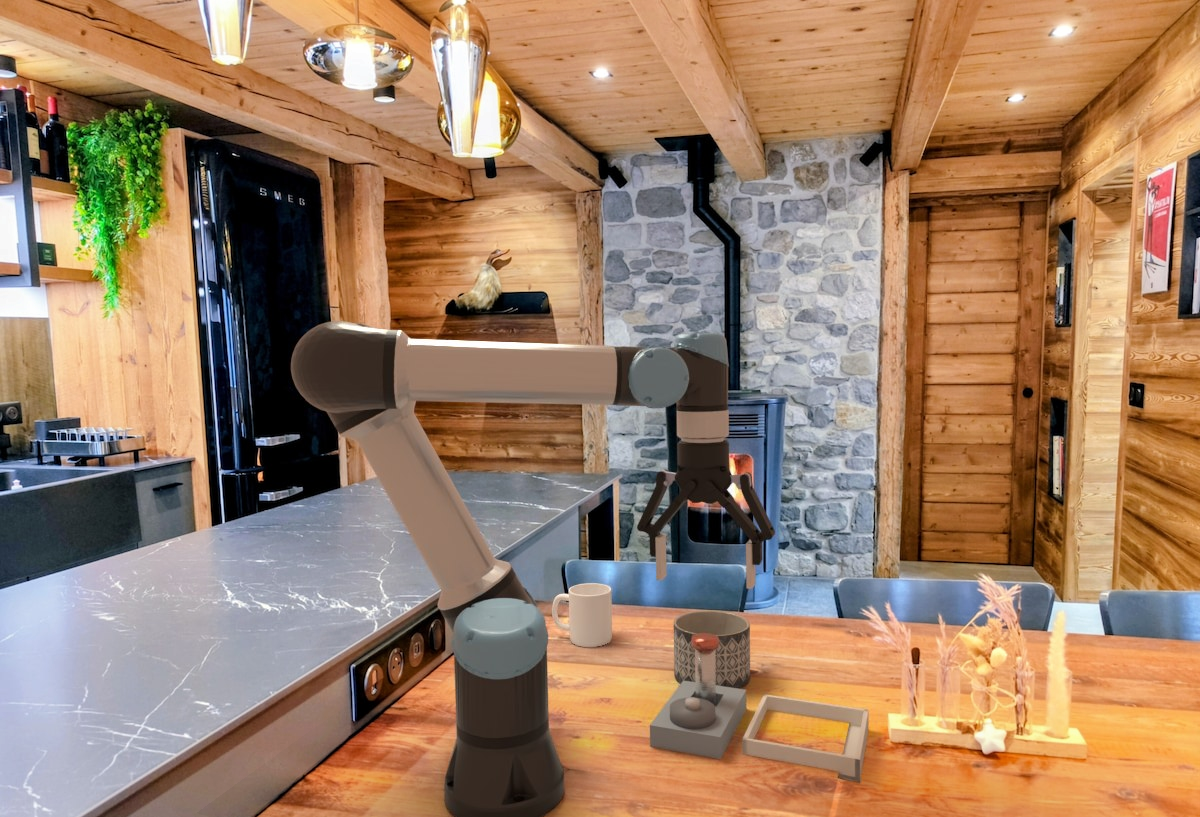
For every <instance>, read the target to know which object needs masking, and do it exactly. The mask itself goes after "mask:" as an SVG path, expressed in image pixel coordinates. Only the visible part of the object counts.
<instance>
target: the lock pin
mask: <svg viewBox="0 0 1200 817" xmlns="http://www.w3.org/2000/svg"><path fill="white" fill-rule="evenodd" d="M692 647H693V648H694V649H695V686H696V698H701V699H705V700H707V701H710V702H711V703H713V704H714V706H716V658H715V649H717V648H718V647H719V638H718V636H716V635H714V634H709V633H699V634H695V635H693V636H692Z"/></svg>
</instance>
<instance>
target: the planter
mask: <svg viewBox="0 0 1200 817" xmlns="http://www.w3.org/2000/svg"><path fill="white" fill-rule="evenodd" d="M699 633H709V634H714V635H716V636H718V638H719V647H718V648H717V649H715V658H716V685H717V686H724V687H731V688H738V689H742V688H744V687H747V685H748V684H749V683H750V680H751V637H750V636H751V624H750V621H749V620H748V618H746V617H744V616H743V615H740V614H738V613H734V612H730V611H725V610H715V609H714V610H713V609H712V610H708V609H707V610H706V609H705V610H704V609H703V610H694V611H689V612H684V613H683V614H679V615H677V616H676V617H675V619H674V620H673V655H674V656H673V662H674V663H673V665H674V666H673V670H674V671H673V673H674V675H673V676H674V679H675V680H676V682H678V683H679V685H680V684H681V683H682V681H690V682H695V649H694V648H693V647H692V636H693V635H695V634H699Z"/></svg>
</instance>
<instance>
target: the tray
mask: <svg viewBox="0 0 1200 817" xmlns="http://www.w3.org/2000/svg"><path fill="white" fill-rule="evenodd" d="M767 711H774V712H780V713H781V712H782V713H787V714H793V715H800V716H806V717H807V716H808V717H813V718H814V717H815V718H821V719H825V720H826V719H827V720H833V721H840V722H846V723H848V726H847V727H848V728H847V733H846V737H845V742H844V746H843V750H842V753H837V752H832V751H831V752H830V751H824V750H821V749H820V750H819V749H813V748H809V747H808V748H807V747H802V746H797V745H796V746H795V745H790V744H789V745H788V744H783V743H779V742H778V743H777V742H773V741H772V742H771V741H767V740H761V739H755V737H756V735H757V733H758V731H759V729H760V726H761V725H762V722H763V720H764V718H765V715H766V713H767ZM869 712H870V710H869V709H865V708H861V707H860V708H859V707H852V706H847V705H840V704H834V703H833V704H831V703H825V702H821V701H820V702H818V701H811V700H807V699H805V700H804V699H801V698H800V699H798V698H793V697H785V696H779V695H772V694H771V695H770V694H767V693H766V694H763V696H762V698H761V700H760V702H759V704H758V706H757V709H756V710H755V713H754V714H753V715H752V719H751V720H750V723H749V725H748V727H747V729H746V731H745V733H744V735H743V736H742V740H741V742H742V743H741V744H742V745H741V746H742V747H741V748H742V750H741V751H742V752H741V753H742V755H746V756H752V757H756V758H761V759H762V758H763V759H768V760H772V761H773V760H774V761H779V762H783V763H784V762H785V763H789V764H795V765H801V766H802V765H803V766H808V767H812V768H813V767H814V768H819V769H823V770H830V771H834V772H838V773H837V776H836V777H837V779H839V780H845V781H851V782H857V783H861V779H862V778H861V776H862V771H863V765H864V759H865V753H866V746H867V742H868V734H869V728H870V727H869V718H870V717H869V714H870V713H869Z"/></svg>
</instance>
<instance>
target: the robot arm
mask: <svg viewBox="0 0 1200 817" xmlns="http://www.w3.org/2000/svg"><path fill="white" fill-rule="evenodd" d="M674 341H675V342H674V345H673V346H670V347H666V346H659V345H658V346H657V345H652V346H648V347H647V346H621V345H620V346H614V345H597V344H596V345H595V344H594V345H593V344H591V345H590V344H571V343H570V344H567V343H563V344H562V343H538V342H537V343H536V342H534V343H533V342H510V341H509V342H508V341H507V342H506V341H482V340H481V341H480V340H479V341H478V340H454V339H453V340H452V339H448V340H447V339H428V338H427V339H425V338H423V339H422V338H411V337H409V336H408V335H407V333H405V332H404V331H403V330H401V329H387V328H386V329H385V328H383V329H382V328H375V327H372V326H369V325H365V324H361V323H353V322H350V321H344V320H341V321H340V320H335V321H327V322H324V323H320V324H318V325H316V326H315V327H312V328H311V329H310V330H308V331H307V332H306V333H305V334H303V336H301V338H300V339H299V340H298V342H297V343H296V345H295V347H294V350H293V352H292V356H291V360H290V361H291V362H290V372H291V377H292V381H293V383H294V385H295V388H296V390H297V391H298V392H299V394H300V395H301V396H302V397H303V398H304V399H305V401H306V402H308V403H309V404H310V405H312V406H313V407H315V408H316V409H319V410H320V411H324V412H326V413H327V415H328V417H329V419H330V421H331V422H332V424H333V425H334V428H335V429H336V430H337V432H338V434H339V435H340V437H341V438H345V439H348V440H353V441H355V442H356V443H357V444H358V446H359V447H360V450H361V451H362V453H363V454H364V456H365V459H366V460H367V461H368V463H369V465H370V467H371V469H372V470H373V473H374V474H375V475H376V476H375V477H377V480H378V482H379V483H380V485H381V486H382V488H383V490H384V491H385V494H386V495H387V497H388V499H389V501H390V502H391V504H392V506H393V508H394V509H395V511H396V513H397V515H398V516H399V518H400V520H401V521H402V523H403V525H404V526H405V528H406V530H407V532H408V533H409V536H410V537H411V539H412V541H413V543H414V544H415V546H416V548H417V550H418V552H419V553H420V555H421V557H422V558H423V560H424V562H425V564H426V566H427V568H428V569H429V571H430V573H431V574H432V576H433V578H434V579H435V581H436V583H437V585H438V587H439V589H440V595H439V598H438V600H437V601H438V602H437V608H438V609H439V611H440V613H441V615H442V616H443V618H444V620H445V622H446V624H447V625H448V628H449V630H450V631H451V633H452V637H451V647H452V648H451V649H452V652H453V664H454V691H455V694H454V695H455V698H454V699H455V723H456V727H455V728H456V739H455V742H454V746H453V750H452V753H451V756H450V759H449V763H448V766H447V769H446V773H445V776H444V781H443V782H444V783H443V792H444V793H443V795H444V804H445V807H446V808H447V810H448V811H449V812H450V814H452V816H454V817H542V816H545V815H546V814H548V813H549V812H551V811H552V810H553V809H555V807H556V806H558V804H559V803H560V802H561V800H562V798H563V797H564V794H565V793H564V792H565V773H564V768H563V764H562V763H561V760H560V757H559V753H558V751H557V748H556V745H555V742H554V739H553V737H552V734H551V731H550V719H549V718H550V716H549V687H548V686H549V680H548V678H549V677H548V676H549V675H548V645H549V631H548V627H547V622H546V618H545V616H544V614H543V612H542V611H541V609H539V607H538V605H537V602H536V600H535V599H534V597H533V595H532V593H530V592H529V591H528V589H527V588H525V587H524V586H523V584H522V583H521V581H520V579H519V577H518V575H517V574H516V572H515V570H514V568H513V567H512V565H511V564H510V562H508V561H504V560H501V559H497V558H495V556H494V554H493V552H492V551H491V549H490V547H489V544H488V543H487V542H486V540H485V538H484V537H483V534H482V532H481V531H480V529H479V527H478V526H477V524H476V522H475V520H474V519H473V517H472V515H471V513H470V511H469V509H468V508H467V506H466V503H465V502H464V500H463V498H462V497H461V495H460V493H459V491H458V488H456V486H455V484H454V482H453V481H452V478H451V477H450V475H449V473H448V472H447V470H446V468H445V466H444V464H443V463H442V461H441V459H440V457H439V455H438V454H437V452H436V450H435V448H434V446H433V445H432V442H431V441H430V440H429V438H428V435H427V433H426V431H425V430H424V429H423V427H422V425H421V423H420V421H419V419H418V417H417V416H416V414H415V407H416V402H453V403H454V402H456V403H457V402H459V403H493V404H494V403H495V404H496V403H497V404H498V403H499V404H500V403H503V404H505V403H507V404H544V405H545V404H546V405H547V404H550V405H552V404H553V405H555V404H557V405H592V406H593V405H594V406H595V405H597V406H598V405H599V406H601V405H602V406H618V407H619V406H621V407H622V406H624V407H625V406H626V407H628V406H629V407H647V408H648V409H664V408H667V407H671V406H673V405H675V404H676V436H677V437H678V438H679V439H681V440H679V441H678V442H677V446H676V447H677V448H676V449H677V470H676V472H672V471H669V470H668V469H663V470H660V471H658V472H657V473H656V479H655V487H654V489H653V491H652V493H651V495H650V498H649V500H648V501H647V504H646V506H645V509H644V510H643V513H642V514H641V516H640V519H639V521H638V523H637V526H636V529H637V531H638V532H643V533H645V534H647V535H648V537H649V555H650V557H653V558H655V579H656V581H659V582H660V581H662V580H664V579H665V578H666V577H667V570H668V569H667V533H661V532H662V530H664V528H665V527H666V526H667V525H668V523H669V522H670V521H671V520H672V519H673V517H674V516H675V515H676V513H678V512H679V510H680V509H681V508H682V506H684V504H685V503H686V502H687V501H690V502H691V503H692V504H699V503H704V504H708V505H709V504H710V505H714V504H715V503H718V504H719V505H720V506H721V508H723V509H724V510H725V511H726V512H727V514H728V515H729V516H730V517H731V518H732V519H733V520H734V522H735V523H736V524H737V525H738V526H739V528H740V529H741V530H742V532H743V533H744V534H745V535H746V536H747V538H748V541H747V542H746V543H745V561H746V562H745V564H746V565H745V566H746V572H745V574H746V579H745V581H746V582H745V583H746V589H748V590H752V589H753V588H754V587H755V585H756V583H757V582H756V579H757V578H756V575H757V574H756V566H760V565H761V564H762V561H763V542H765V541H770V540H772V538H773V537H774V536H775V535H776V530H775V528H774V526H773V524H772V522H771V520H770V518H769V516H768V514H767V512H766V510H765V508H764V506H763V504H762V503H761V500H760V497H758V496H759V495H758V494H757V492H756V491H755V490H756V489H755V488H754V483H753V477H752V474H751V472H749V471H748V472H747V471H745V472H744V473H741V474H732V472H731V470H730V443H729V442H728V440H726V438H728V436H729V435H730V429H729V428H730V427H729V426H730V423H729V422H730V421H729V420H730V417H729V414H730V413H729V367H730V364H729V357H728V356H729V355H728V354H729V353H728V346H727V338H726V337H725V336H724V335H723V334H721V333H718V332H716V333H715V332H706V333H704V332H703V333H681V334H678V335H676V336H675V340H674ZM674 481H675V483H676V485H677V486H678V487H679V490H681V491H680V492H679V493H678V494H677V495H676V496H675V498H674V499H673V501H672V502H671V503H670V504H669V506H667V508H666V509H665V510H664V512H663V513H662V514H661V515H660V516H659V518H658V519H656V521H655V523H652V522H653V520H654V518H655V515H656V513H657V512H658V509H659V507H660V504H661V503H662V500H663V498H664V496H665V494H666V493H667V489H668V487H669V486H671V485H672V484H673V482H674ZM732 484H735V486H736V488H737V489H738V490H740V491H741V493H742V494H741V495H743V496H742V497H743V498H744V500H745V502H746V504H747V506H748V508H749V510H750V512H751V514H752V516H753V518H754V520H755V522H756V524H757V526H758V527H757V526H756V525H755V523H754V521H752V520H751V518H750V517H749V516H748V515H747V514H746V512H745V511H744V510H743V508H741V506H740V505H739V504H738V503H737V501H736V500H735V497H734V496H733V495H732V494H731V492H729V490H728V489H729V488H730V486H732Z"/></svg>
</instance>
